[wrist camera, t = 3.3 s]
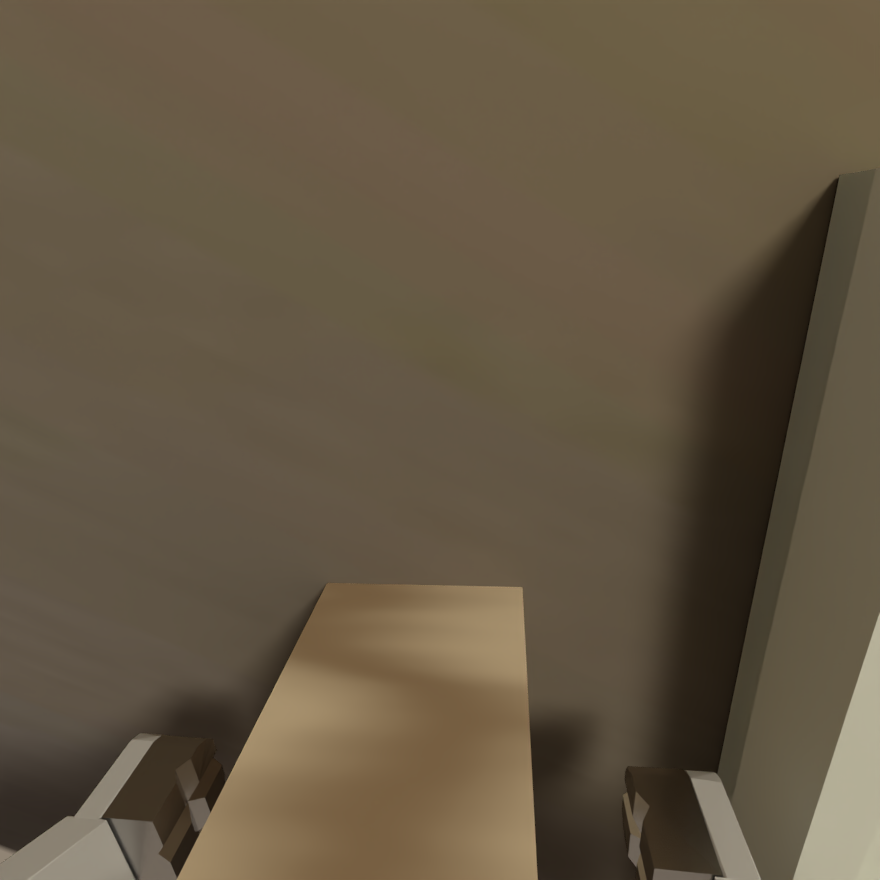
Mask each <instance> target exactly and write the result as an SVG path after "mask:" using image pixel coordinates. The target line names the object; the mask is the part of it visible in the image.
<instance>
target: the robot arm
mask: <svg viewBox="0 0 880 880" xmlns="http://www.w3.org/2000/svg"><path fill="white" fill-rule="evenodd" d="M216 751H217V749H216V747H215V744H214V742H213V739H208V738H196V737H184V736H171V735H163V734H148V733H140V734H139V735H137V736H136V737H135V738H133V739H132V740H131V741H130V742H129V743H128V745H127V746H126V747H125V749H124V750H123V752H122V753H121V754H120V756H119V757H118V758H117V760H116V761H115V762H114V764H113V765H112V766H111V768H110V769H109V770H108V772H107V773H106V774H105V776H104V777H103V778H102V780H101V781H100V782H99V784H98V785H97V787H96V788H95V789H94V791H93V792H92V793H91V795H90V796H89V797H88V799H87V800H86V801H85V803H84V804H83V805H82V807H81V808H80V809H79V811H78V812H77V813H76V815H75V816H67V817H65V818H64V819H62V820H61V821H60V822H58V823H57V824H55V825H54V826H53V827H51V828H50V829H48V830H47V831H46V832H44V833H43V834H41V835H40V836H39V837H37V838H36V839H34V840H33V841H32V842H30V843H29V844H27V845H26V846H25V847H23V848H22V849H20V850H19V851H18V852H16V853H15V854H13V855H12V856H11V857H9V858H8V859H6V860H5V861H4V862H2V863H1V864H0V880H177V878H178V876H179V874H180V872H181V870H182V868H183V866H184V864H185V862H186V860H187V858H188V856H189V854H190V852H191V850H192V848H193V846H194V844H195V842H196V840H197V838H198V837H199V830H200V829H202V828H203V827H204V825H205V823H206V821H207V819H208V817H209V815H210V813H211V811H212V809H213V807H214V805H215V803H216V801H217V799H218V797H219V795H220V793H221V791H222V789H223V787H224V785H225V774H224V770H223V767H222V765H221V764H220V763H219V762H218V761H216V760H215V759H214V758H213V756H214V754H215V753H216ZM625 783H626V788H627V793H625V794H624V795H623V800H622V819H623V830H624V837H625V843H626V848H627V853H628V857H629V858H630V860H631V861H632V862H633V863H634V865H635V866H636V876H635V880H761V878H760V876H759V873H758V871H757V868H756V866H755V863H754V861H753V858H752V856H751V853H750V851H749V848H748V846H747V843H746V841H745V838H744V836H743V833H742V831H741V828H740V826H739V823H738V821H737V818H736V816H735V813H734V811H733V808H732V806H731V804H730V801H729V799H728V796H727V794H726V791H725V789H724V786H723V784H722V781H721V779H720V778H719V776H718V775H717V774H716V773H715V772H713V771H693V770H683V769H675V768H654V767H634V766H628V767H627V768H626V771H625Z"/></svg>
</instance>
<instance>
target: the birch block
mask: <svg viewBox="0 0 880 880" xmlns="http://www.w3.org/2000/svg"><path fill="white" fill-rule="evenodd" d="M177 880H538V876H537V857H536V838H535V819H534V800H533V781H532V762H531V743H530V724H529V705H528V686H527V666H526V647H525V628H524V609H523V590H522V587H490V586H443V585H395V584H348V583H327V584H326V586H325V588H324V590H323V592H322V594H321V596H320V598H319V600H318V602H317V604H316V606H315V608H314V610H313V612H312V614H311V616H310V618H309V620H308V622H307V624H306V626H305V628H304V629H303V631H302V633H301V635H300V637H299V639H298V641H297V643H296V645H295V647H294V649H293V651H292V653H291V655H290V657H289V659H288V661H287V663H286V665H285V667H284V669H283V671H282V673H281V675H280V677H279V679H278V681H277V683H276V685H275V687H274V689H273V691H272V693H271V695H270V697H269V699H268V700H267V702H266V704H265V706H264V708H263V710H262V712H261V714H260V716H259V718H258V720H257V722H256V724H255V726H254V728H253V730H252V732H251V734H250V736H249V738H248V740H247V742H246V744H245V746H244V748H243V750H242V752H241V754H240V756H239V758H238V760H237V762H236V764H235V766H234V768H233V769H232V771H231V773H230V775H229V777H228V779H227V781H226V783H225V785H224V787H223V789H222V791H221V793H220V795H219V797H218V799H217V801H216V803H215V805H214V807H213V809H212V811H211V813H210V815H209V817H208V819H207V821H206V823H205V825H204V827H203V829H202V831H201V833H200V835H199V837H198V838H197V840H196V842H195V844H194V846H193V848H192V850H191V852H190V854H189V856H188V858H187V860H186V862H185V864H184V866H183V868H182V870H181V872H180V874H179V876H178V878H177Z"/></svg>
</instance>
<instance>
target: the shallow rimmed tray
mask: <svg viewBox="0 0 880 880" xmlns="http://www.w3.org/2000/svg"><path fill="white" fill-rule="evenodd" d="M717 775H718V776H719V778H720V779H721V781H722V784H723V786H724V789H725V791H726V794H727V796H728V799H729V801H730V804H731V806H732V808H733V811H734V813H735V816H736V818H737V821H738V823H739V826H740V828H741V831H742V833H743V836H744V838H745V841H746V843H747V846H748V848H749V851H750V853H751V856H752V858H753V861H754V863H755V866H756V868H757V871H758V873H759V876H760V878H761V880H880V168H878V169H873V170H867V171H861V172H856V173H850V174H844V175H840V176H839V181H838V186H837V191H836V196H835V201H834V206H833V210H832V215H831V220H830V225H829V230H828V235H827V240H826V245H825V250H824V254H823V259H822V264H821V269H820V274H819V279H818V284H817V289H816V293H815V298H814V303H813V308H812V313H811V318H810V323H809V328H808V333H807V337H806V342H805V347H804V352H803V357H802V362H801V367H800V372H799V377H798V381H797V386H796V391H795V396H794V401H793V406H792V411H791V416H790V421H789V425H788V430H787V435H786V440H785V445H784V450H783V455H782V460H781V465H780V469H779V474H778V479H777V484H776V489H775V494H774V499H773V504H772V508H771V513H770V518H769V523H768V528H767V533H766V538H765V543H764V548H763V552H762V557H761V562H760V567H759V572H758V577H757V582H756V587H755V592H754V596H753V601H752V606H751V611H750V616H749V621H748V626H747V631H746V636H745V640H744V645H743V650H742V655H741V660H740V665H739V670H738V675H737V680H736V684H735V689H734V694H733V699H732V704H731V709H730V714H729V719H728V724H727V728H726V733H725V738H724V743H723V748H722V753H721V758H720V763H719V767H718V772H717Z"/></svg>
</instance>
